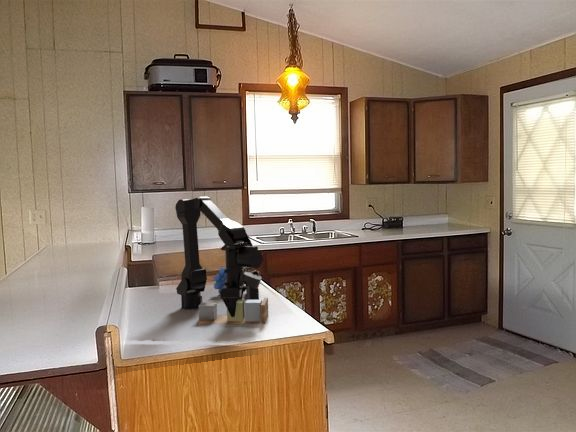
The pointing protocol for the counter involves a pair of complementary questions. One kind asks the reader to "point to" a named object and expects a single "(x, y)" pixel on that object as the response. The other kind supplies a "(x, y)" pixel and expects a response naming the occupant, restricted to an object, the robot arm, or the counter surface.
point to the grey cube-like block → (207, 311)
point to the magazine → (252, 290)
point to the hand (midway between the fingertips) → (235, 312)
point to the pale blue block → (253, 310)
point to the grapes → (220, 280)
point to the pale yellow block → (237, 312)
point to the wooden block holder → (264, 315)
